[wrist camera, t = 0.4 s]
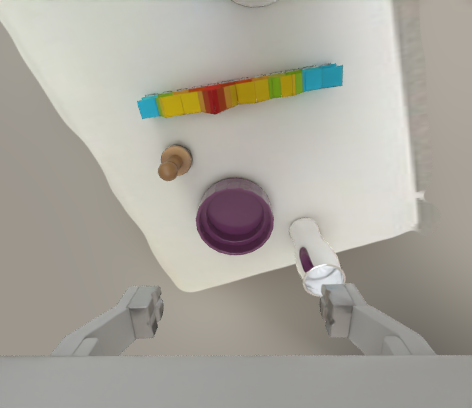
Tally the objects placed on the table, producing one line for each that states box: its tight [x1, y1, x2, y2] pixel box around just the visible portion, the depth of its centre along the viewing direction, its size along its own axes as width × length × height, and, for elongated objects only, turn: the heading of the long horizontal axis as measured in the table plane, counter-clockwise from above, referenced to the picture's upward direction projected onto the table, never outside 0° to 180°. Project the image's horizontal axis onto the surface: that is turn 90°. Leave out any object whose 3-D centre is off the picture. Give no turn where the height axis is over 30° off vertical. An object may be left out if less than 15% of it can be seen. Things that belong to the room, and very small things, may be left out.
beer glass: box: [289, 218, 346, 297], centre depth 47 cm, size 7×7×15 cm
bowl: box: [196, 178, 274, 255], centre depth 50 cm, size 14×14×6 cm
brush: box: [158, 145, 192, 181], centre depth 43 cm, size 5×5×9 cm
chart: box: [137, 63, 343, 119], centre depth 36 cm, size 30×3×15 cm, turn 99°
